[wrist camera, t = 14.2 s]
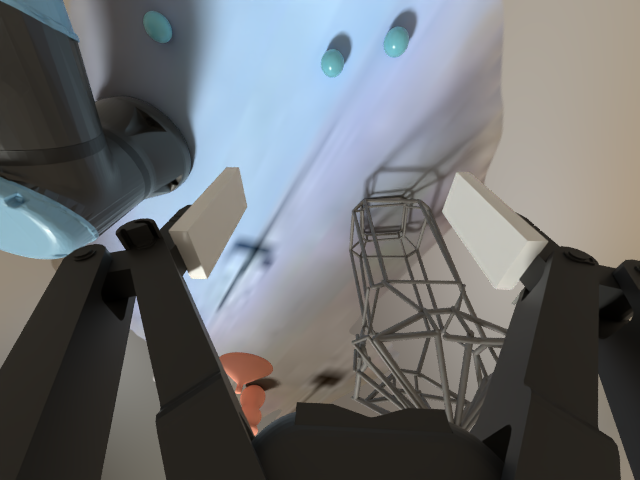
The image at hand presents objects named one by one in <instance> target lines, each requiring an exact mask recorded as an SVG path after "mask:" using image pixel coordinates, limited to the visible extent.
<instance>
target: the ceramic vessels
mask: <svg viewBox="0 0 640 480" xmlns="http://www.w3.org/2000/svg"><path fill="white" fill-rule="evenodd" d="M219 359H220V361H221V363H222V365H223V368H224V370H225V372H226V373H227V374H228V375H229V376H230V377H231V378H232V379H233V380H234V381H235V382H236V383H237V387H236V391H235V393H236V394H241V391H242V387H243V384H246V383H249V382H252V381H254V380H257V379H260V378H263V377H265V376H268V375H269V374H271V373H272V371H273V367H272V365H271V363H269V362H268V361H267V360H265V359H264V358H262V357H259V356H256V355H253V354H249V353H239V352H235V353H227V354H224V355H222V356H220V357H219ZM264 401H265V392H264V390H263V389H262V388H261V387H260V386H258V385H250V386H248V387H247V388H245V389H244V390H243V392H242V394H241V397H240V402H241V405H242V407H241V408H242V410H243V412H244V414H245V416H246V418H247V420H248V423H249V425H250V427H251V429H252V431H253V433H254V436H255V435H256V434H257V432H258V429H257V426H256V425H257V424H258V423H259V422H260V420H261V412H260V410H259V408H260V407H261V406H262V405H263V403H264Z"/></svg>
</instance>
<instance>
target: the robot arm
mask: <svg viewBox="0 0 640 480" xmlns="http://www.w3.org/2000/svg"><path fill="white" fill-rule="evenodd" d="M78 42H80V41H79V38H78V36H77V35H76V34H75V33H74V31H73V28H72V25H71V23H70V20H69V17H68V14H67V11H66V8H65V6H64V2H63V0H0V250H3V251H6V252H9V253H13V254H16V255H20V256H25V257H30V258H37V259H58V258H63V257H65V258H64V259H63V261H62V263H61V264H60V266H59V268H58V270H57V271H56V273H55V275H54V277H53V278H52V280H51V282H50V284H49V285H48V287H47V289H46V291H45V292H44V294H43V296H42V297H41V299H40V301H39V303H38V305H37V306H36V308H35V310H34V311H33V313H32V315H31V317H30V318H29V320H28V322H27V324H26V325H25V327H24V329H23V331H22V332H21V334H20V336H19V338H18V339H17V341H16V343H15V345H14V346H13V348H12V350H11V351H10V353H9V355H8V357H7V358H6V360H5V362H4V364H3V365H2V367H1V369H0V480H101V475H102V469H103V463H104V459H105V454H106V449H107V443H108V438H109V433H110V428H111V422H112V417H113V412H114V407H115V402H116V396H117V391H118V386H119V381H120V376H121V370H122V366H123V360H124V355H125V350H126V345H127V339H128V334H129V329H130V324H131V319H132V314H133V308H134V303H135V298H136V296H137V301H138V305H139V310H140V314H141V319H142V323H143V328H144V332H145V337H146V341H147V346H148V350H149V355H150V359H151V364H152V369H153V373H154V378H155V382H156V387H157V391H158V395H159V400H160V406H161V408H160V411H159V413H158V414H157V415H156V427H157V434H158V439H159V444H160V449H161V455H162V460H163V464H164V470H165V475H166V480H621V477H620V456H619V451H618V447H617V445H616V443H615V442H614V440H613V439H612V438H611V437H609V436H607V435H606V434H604V433H603V432H601V431H599V429H598V374H599V377H600V379H601V382H602V385H603V388H604V391H605V394H606V397H607V400H608V403H609V406H610V409H611V412H612V414H613V417H614V420H615V423H616V426H617V429H618V432H619V435H620V438H621V440H622V444H623V446H624V450H625V452H626V455H627V458H628V461H629V464H630V467H631V470H632V473H633V476H634V479H635V480H640V261H637V260H625V261H624V262H623V263H622V264H620V265H619V266H618V267H617V268H611V267H606V266H601V265H599V264H598V262H597V261H596V260H595V259H594V258H593V257H592V256H590V255H588V254H587V253H585V252H582V251H580V250H578V249H574V248H571V247H563V246H561V247H560V246H558V245H557V244H556V243H555V242H554V241H552V240H551V239H550V238H549V237H548V236H547V235H546V234H544V233H543V232H542V231H540V229H539V228H537V227H536V226H534V224H533V223H532V222H530V221H529V220H528V219H527V218H525V217H523V216H522V215H520V214H518V213H516V212H514V211H513V210H512V209H511V208H510V207H509V206H508V205H506V204H505V203H504V202H503V201H502V200H501V199H500V198H498V197H497V196H496V195H495V194H494V193H493V192H492V191H490V190H489V189H488V188H487V187H486V186H485V185H484V184H483V183H482V182H480V181H479V180H478V179H477V178H476V177H475V176H474V175H472V174H471V173H470V172H457V173H456V175H455V178H454V181H453V183H452V186H451V189H450V192H449V194H448V197H447V200H446V202H445V205H444V208H443V210H442V212H443V214H444V215H445V217H446V218H447V220H448V221H449V223H450V224H451V226H452V227H453V229H454V230H455V231H456V233H457V234H458V236H459V237H460V239H461V240H462V242H463V243H464V245H465V246H466V248H467V249H468V251H469V252H470V253H471V255H472V256H473V258H474V259H475V261H476V262H477V264H478V265H479V267H480V268H481V269H482V271H483V272H484V274H485V275H486V277H487V278H488V280H489V281H490V283H491V284H492V286H493V287H494V289H507V290H512V289H513V288H514V287H515V285H516V284H517V283H518V281H519V280H520V281H521V282H522V283H523V284H524V286H525V287H524V289H523V290H522V291H521V292H520V294H519V295H518V296H517V297H516V299H515V300H514V301H513V302H512V304H513V305H515V304H516V303H517V304H516V307H515V310H514V313H513V316H512V319H511V322H510V325H509V328H508V331H507V334H506V337H505V340H504V343H503V346H502V349H501V352H500V355H499V358H498V361H497V364H496V367H495V370H494V373H493V375H492V378H491V381H490V384H489V387H488V390H487V393H486V396H485V399H484V402H483V405H482V408H481V411H480V414H479V417H478V419H477V421H476V423H475V425H474V426H473V428H472V429H471V431H470V432H468V431H467V430H465V429H463V428H462V427H460V426H458V425H456V424H454V423H451V422H449V421H448V418H447V415H446V412H445V410H441V409H440V410H439V409H421V408H406V409H402V410H399V411H395V412H391V413H388V414H384V415H381V416H377V417H367V416H364V415H362V414H359V413H356V412H353V411H350V410H348V409H345V408H342V407H339V406H336V405H334V404H321V403H301V402H297V406H296V412H293V413H290V414H287V415H285V416H282V417H280V418H279V419H277V420H275V421H274V422H272V423H271V424H270V425H268V426H267V427H265V428H264V429H263V430H262V431H261V432H260V433H259V434H258V435H257V436H256V437H255V436H254V433H253V431H252V429H251V427H250V425H249V423H248V420H247V418H246V416H245V414H244V412H243V410H242V408H241V406H240V404H239V401H238V399H237V397H236V395H235V392H234V390H233V388H232V386H231V383H230V381H229V379H228V377H227V374H226V372H225V370H224V368H223V365H222V363H221V361H220V359H219V356H218V354H217V352H216V350H215V347H214V345H213V343H212V341H211V338H210V336H209V334H208V332H207V329H206V327H205V325H204V323H203V320H202V318H201V316H200V314H199V311H198V309H197V307H196V305H195V303H194V300H193V298H192V296H191V294H190V291H189V289H188V287H187V285H186V282H185V280H184V278H183V275H184V273H185V272H186V270H187V271H188V273H189V275H190V277H191V279H208V277H209V275H210V273H211V271H212V270H213V268H214V266H215V264H216V262H217V261H218V259H219V257H220V255H221V253H222V252H223V250H224V248H225V246H226V244H227V242H228V241H229V239H230V237H231V235H232V233H233V232H234V230H235V228H236V226H237V224H238V223H239V221H240V219H241V217H242V215H243V213H244V212H245V210H246V208H247V203H246V199H245V194H244V189H243V184H242V180H241V175H240V170H239V168H238V167H226V168H225V170H224V171H223V172H222V173H221V174H220V175H219V176H218V177H217V178H216V179H215V180H214V182H213V183H212V184H211V185H210V186H209V187H208V188H207V189H206V190H205V191H204V192H203V194H202V195H201V196H200V197H199V198H198V199H197V200H196V201H195V202H194V203H193V204H192V205H187V206H185V207H183V208H182V209H180V210H179V211H178V212H177V213H176V214H175V215H174V217H172V218H171V219H170V220H169V222H167V223H166V224H165V225H164V226H163V227H162V228H161V229H160V230H159V229H158V227H157V225H156V223H155V221H154V220H152V219H138V220H133V221H131V222H128V223H126V224H124V225H122V226H120V227H119V228H118V229H117V231H116V235H117V237H118V239H119V240H120V242H121V243H122V245H123V246H124V248H125V249H126V250H124V251H118V252H112V253H109V252H108V250H107V249H106V247H105V246H103V245H100V244H93V245H88V246H85V245H86V244H88V243H90V242H93V241H95V240H96V239H97V238H98V237H99V236H100V235H101V234H103V233H104V232H105V231H106V230H107V229H109V228H110V227H111V226H112V225H114V224H115V223H116V222H117V221H118V220H120V219H121V218H122V217H123V216H124V215H126V214H127V213H128V212H129V211H131V210H132V209H133V208H134V207H135V206H137V205H138V204H139V203H140V202H141V201H143V200H144V199H147V198H151V197H155V196H159V195H163V194H167V193H170V192H172V191H174V190H175V189H177V188H178V187H179V186H180V185H181V184H182V183H184V182H185V180H186V179H187V177H188V175H189V173H190V169H191V158H190V153H189V149H188V146H187V144H186V142H185V140H184V138H183V136H182V134H181V133H180V131H179V130H178V129H177V127H176V126H175V125H174V124H173V123H172V122H171V121H170V120H169V119H168V118H167V117H166V116H165V115H164V114H163V113H162V112H160V111H159V110H158V109H156V108H155V107H153V106H151V105H150V104H148V103H146V102H144V101H141V100H139V99H136V98H132V97H127V96H115V97H110V98H105V99H101V100H98V101H96V102H95V101H94V98H93V94H92V91H91V87H90V84H89V80H88V77H87V73H86V70H85V66H84V63H83V59H82V56H81V52H80V49H79V45H78ZM632 316H633V317H632ZM631 317H632V319H631V321H629V319H630V318H631Z"/></svg>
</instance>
